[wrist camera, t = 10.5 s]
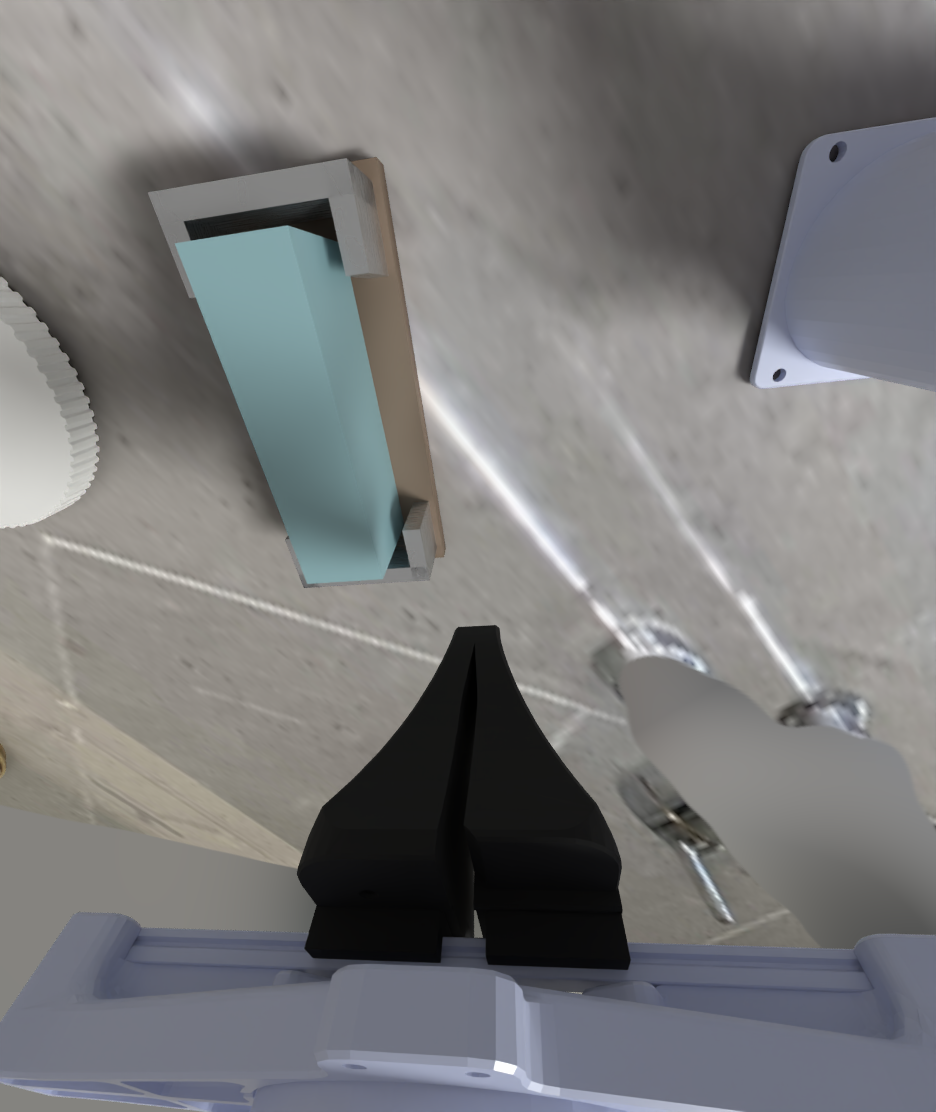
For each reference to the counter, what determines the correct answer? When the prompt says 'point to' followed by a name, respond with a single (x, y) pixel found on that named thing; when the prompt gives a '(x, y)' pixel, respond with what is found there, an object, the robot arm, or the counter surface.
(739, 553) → the counter surface
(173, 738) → the counter surface
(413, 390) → the end cap board
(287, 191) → the end caps
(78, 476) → the plastic lid
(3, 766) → the toy sandwich meal
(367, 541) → the teal rectangular block
